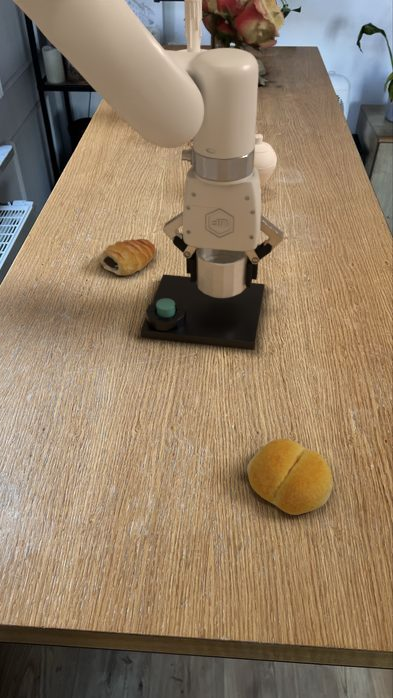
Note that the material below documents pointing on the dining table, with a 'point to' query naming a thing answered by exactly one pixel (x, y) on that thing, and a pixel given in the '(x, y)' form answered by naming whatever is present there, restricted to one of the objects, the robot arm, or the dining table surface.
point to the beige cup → (221, 272)
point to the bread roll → (290, 476)
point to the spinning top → (264, 159)
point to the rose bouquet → (243, 25)
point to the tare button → (165, 307)
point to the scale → (205, 315)
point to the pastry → (127, 256)
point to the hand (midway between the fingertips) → (221, 278)
